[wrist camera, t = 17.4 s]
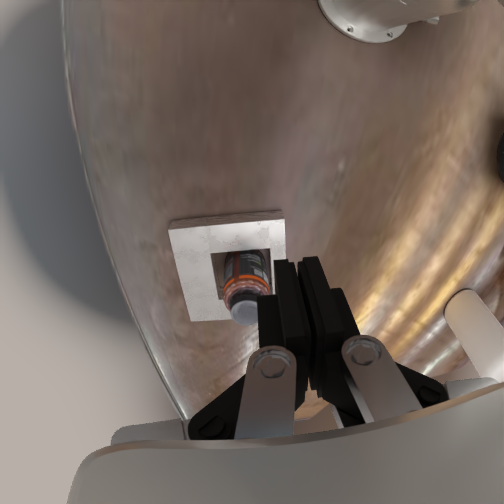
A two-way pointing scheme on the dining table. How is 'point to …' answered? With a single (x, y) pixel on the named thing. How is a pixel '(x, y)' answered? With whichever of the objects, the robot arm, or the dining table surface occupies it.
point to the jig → (214, 241)
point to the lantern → (501, 158)
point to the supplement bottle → (244, 284)
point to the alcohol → (477, 333)
